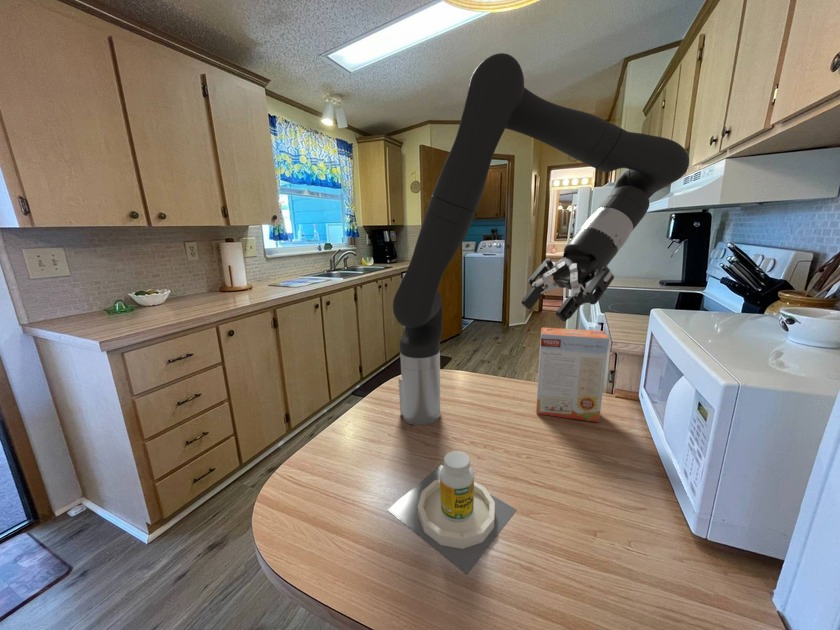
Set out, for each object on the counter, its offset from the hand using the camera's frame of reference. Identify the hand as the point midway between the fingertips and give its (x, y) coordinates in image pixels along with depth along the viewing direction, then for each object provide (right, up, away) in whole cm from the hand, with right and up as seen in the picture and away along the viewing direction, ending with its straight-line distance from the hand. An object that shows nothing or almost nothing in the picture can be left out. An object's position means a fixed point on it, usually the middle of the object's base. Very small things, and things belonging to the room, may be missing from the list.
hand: (541, 312), depth 59 cm
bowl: (-15, -33, -3) cm, 36 cm away
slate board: (-16, -33, -3) cm, 37 cm away
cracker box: (+15, -25, +25) cm, 38 cm away
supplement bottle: (-15, -32, -3) cm, 36 cm away
